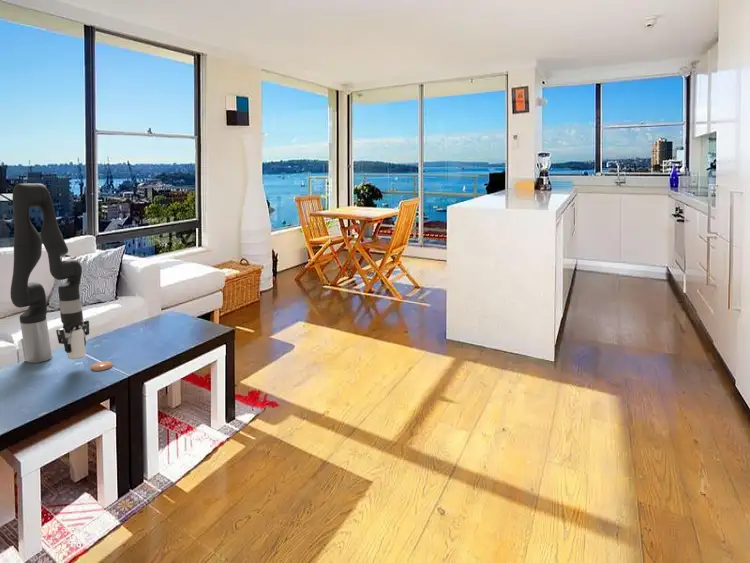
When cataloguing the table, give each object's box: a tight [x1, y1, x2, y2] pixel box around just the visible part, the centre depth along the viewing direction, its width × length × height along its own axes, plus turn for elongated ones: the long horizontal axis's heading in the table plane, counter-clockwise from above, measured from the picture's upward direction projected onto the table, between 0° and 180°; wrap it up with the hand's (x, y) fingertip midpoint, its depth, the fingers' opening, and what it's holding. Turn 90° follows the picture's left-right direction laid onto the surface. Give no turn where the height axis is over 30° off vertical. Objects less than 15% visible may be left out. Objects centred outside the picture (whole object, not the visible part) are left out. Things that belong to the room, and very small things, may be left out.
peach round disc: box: [90, 360, 114, 372], centre depth 206 cm, size 8×8×1 cm
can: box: [65, 328, 86, 360], centre depth 202 cm, size 6×6×12 cm
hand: (75, 349), depth 203 cm, fingers closed on can, 6 cm apart
